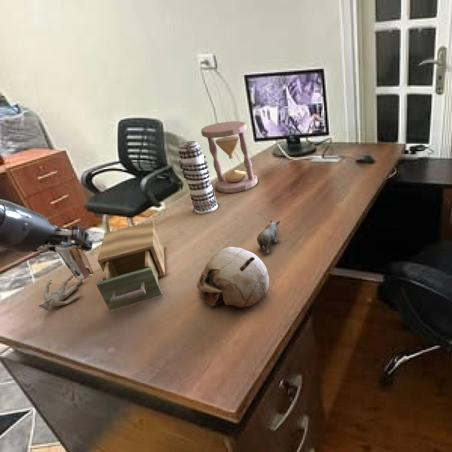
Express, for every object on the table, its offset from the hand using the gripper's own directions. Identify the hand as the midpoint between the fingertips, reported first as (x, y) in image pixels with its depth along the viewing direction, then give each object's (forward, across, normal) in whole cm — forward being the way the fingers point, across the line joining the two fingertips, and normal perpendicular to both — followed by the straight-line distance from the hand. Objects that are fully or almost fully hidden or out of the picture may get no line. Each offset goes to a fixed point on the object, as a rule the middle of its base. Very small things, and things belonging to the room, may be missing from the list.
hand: (77, 247), depth 75 cm
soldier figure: (+18, +15, +8) cm, 25 cm away
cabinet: (+25, 0, 0) cm, 25 cm away
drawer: (+16, -5, +8) cm, 19 cm away
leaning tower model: (+51, -11, -26) cm, 58 cm away
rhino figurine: (+29, -38, -4) cm, 48 cm away
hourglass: (+66, -19, -41) cm, 80 cm away
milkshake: (+3, 0, +6) cm, 7 cm away
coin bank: (+13, -30, +13) cm, 35 cm away
